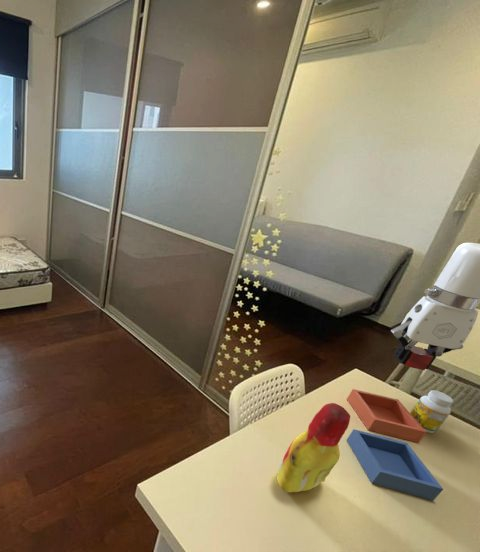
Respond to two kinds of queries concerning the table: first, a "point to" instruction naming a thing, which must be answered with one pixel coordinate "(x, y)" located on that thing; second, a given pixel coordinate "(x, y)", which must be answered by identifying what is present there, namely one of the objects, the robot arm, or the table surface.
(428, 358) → the red block
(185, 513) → the table surface
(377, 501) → the table surface
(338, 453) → the bottle
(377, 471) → the blue bin
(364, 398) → the terracotta bin
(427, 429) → the supplement bottle
